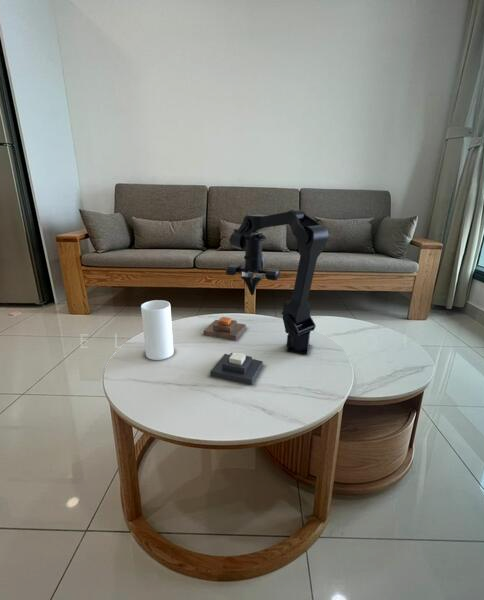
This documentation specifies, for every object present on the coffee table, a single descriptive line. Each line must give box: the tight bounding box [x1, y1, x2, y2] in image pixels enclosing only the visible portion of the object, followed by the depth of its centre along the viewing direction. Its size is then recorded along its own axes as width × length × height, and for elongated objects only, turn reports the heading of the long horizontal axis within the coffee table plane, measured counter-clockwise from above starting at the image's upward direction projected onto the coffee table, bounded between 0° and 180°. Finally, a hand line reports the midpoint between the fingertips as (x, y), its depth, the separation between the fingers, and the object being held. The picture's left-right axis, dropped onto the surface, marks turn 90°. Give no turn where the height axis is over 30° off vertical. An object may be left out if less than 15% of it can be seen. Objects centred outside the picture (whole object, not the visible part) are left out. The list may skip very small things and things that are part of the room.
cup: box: [140, 299, 175, 361], centre depth 97 cm, size 8×8×16 cm
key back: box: [218, 316, 233, 326], centre depth 113 cm, size 4×4×2 cm
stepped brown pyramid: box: [203, 317, 247, 341], centre depth 114 cm, size 12×10×4 cm
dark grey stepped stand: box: [210, 352, 264, 386], centre depth 91 cm, size 12×10×4 cm
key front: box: [229, 351, 247, 365], centre depth 90 cm, size 4×4×2 cm
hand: (252, 294), depth 117 cm, fingers closed
